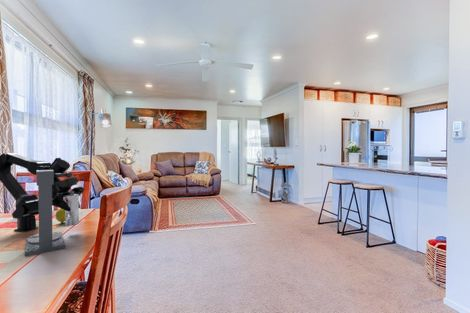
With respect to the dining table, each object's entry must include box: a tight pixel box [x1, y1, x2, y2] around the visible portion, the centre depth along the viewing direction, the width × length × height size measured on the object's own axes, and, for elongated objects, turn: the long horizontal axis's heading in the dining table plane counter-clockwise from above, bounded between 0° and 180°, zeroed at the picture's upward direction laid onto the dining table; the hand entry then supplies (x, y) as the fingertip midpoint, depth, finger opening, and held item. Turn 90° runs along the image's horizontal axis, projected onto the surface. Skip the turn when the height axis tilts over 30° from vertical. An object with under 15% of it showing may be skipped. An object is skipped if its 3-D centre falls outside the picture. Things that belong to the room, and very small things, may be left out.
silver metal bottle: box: [64, 190, 80, 227], centre depth 114 cm, size 5×5×14 cm
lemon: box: [55, 208, 65, 224], centre depth 130 cm, size 6×6×8 cm
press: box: [24, 170, 74, 257], centre depth 101 cm, size 19×15×30 cm
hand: (74, 209), depth 113 cm, fingers closed on silver metal bottle, 5 cm apart
